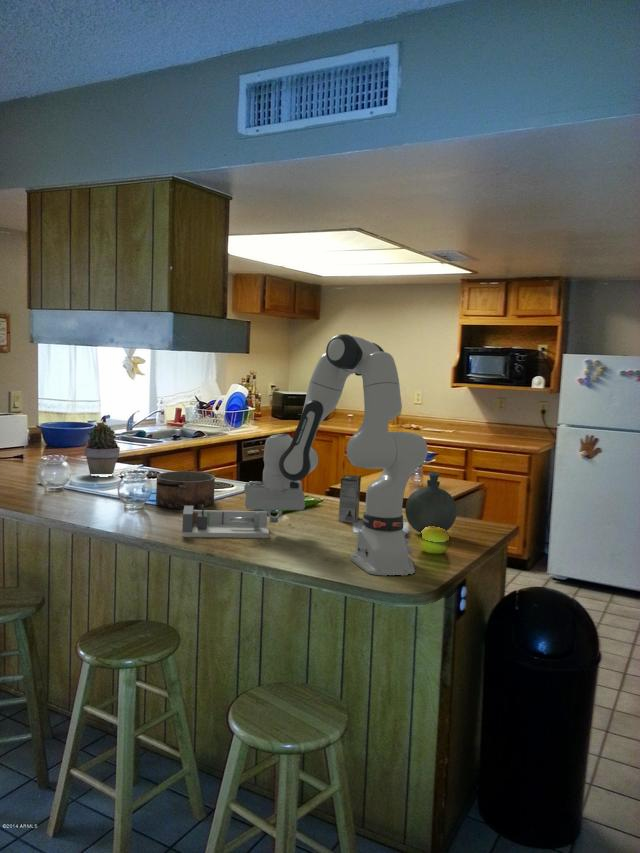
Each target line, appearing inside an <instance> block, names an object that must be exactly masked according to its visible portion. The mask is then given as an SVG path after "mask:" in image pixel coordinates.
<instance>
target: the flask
mask: <svg viewBox="0 0 640 853" xmlns="http://www.w3.org/2000/svg"><path fill="white" fill-rule="evenodd" d="M427 475H428V476H429V479H427V481H426V482H427V483H426V484H427V486H424V487H420V488H418V489H416V490H414V491H412V493H411V494H409V497H408V498H407V500H406V503H405V512H404V513H405V517H406V520H407V522H408V524H409V525H410V527H411V528H413V530H415V531H416V532H417V533H420V534H422V533H421V531H422V530H423V529H424V528H425V527H428V526H435V527H440V528H443V529H445V530H446V532H447V531H449V529H451V528H452V526H454V524H455V521H456V519H457V513H458V512H457V511H458V509H457V503H456V501H455V499H454V497H453V495H452V494H450V493H449V492H448V491H446V490H445V489H443V488H440V483H441V482H440V481H439V478H440V476H441V474H440V473H438V472H435V471H431V472H427Z"/></svg>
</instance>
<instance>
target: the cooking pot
mask: <svg viewBox="0 0 640 853" xmlns="http://www.w3.org/2000/svg"><path fill="white" fill-rule="evenodd" d="M215 483H216V476H215V475H213V473H212V472H206V471H190V470H189V471H187V470H185V471H184V470H182V471H181V470H175V471H167V472H160V473H158V474H157V475H156V486H155V487H156V489H155V490H156V491H155V502H156V504H157V505H158V506H160V507H163V508H167V509H175V510H184V506H194V507H193V510H199V509H202V505H204V509H205V508H209V507H211V506H212V505H213V504H214V502H215Z"/></svg>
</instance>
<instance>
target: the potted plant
mask: <svg viewBox="0 0 640 853" xmlns="http://www.w3.org/2000/svg"><path fill="white" fill-rule="evenodd" d="M108 424H109V423H108ZM108 424H106V423H103V422H100V423H98V424H97V425H96V424H95V425H94V426H93V427H91V428H90V431H89V432H87V435H88V436H87V439H88V438H89V439H88V440H87V442H88V443H87V445H85V446H84V447H83V449H84V456H85V458H86V461H87V466H88V471H89V475H90V474H112V473H113V474H114V472H115V468H116V464H117V461H118V457H119V456H120V451H121V448H120V447H121V446H118V443H117V440H115V439H116V438H117V439H119V436H117V435H116V434H115V432H116V431H115V430H113V429H112V428H111V426H108ZM83 439H86V436H85V437H83Z"/></svg>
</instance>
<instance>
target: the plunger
mask: <svg viewBox="0 0 640 853" xmlns="http://www.w3.org/2000/svg"><path fill="white" fill-rule="evenodd" d="M253 511H254V518H244V517H230V522H253V526H254V530H259V511H260V510H253Z"/></svg>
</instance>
